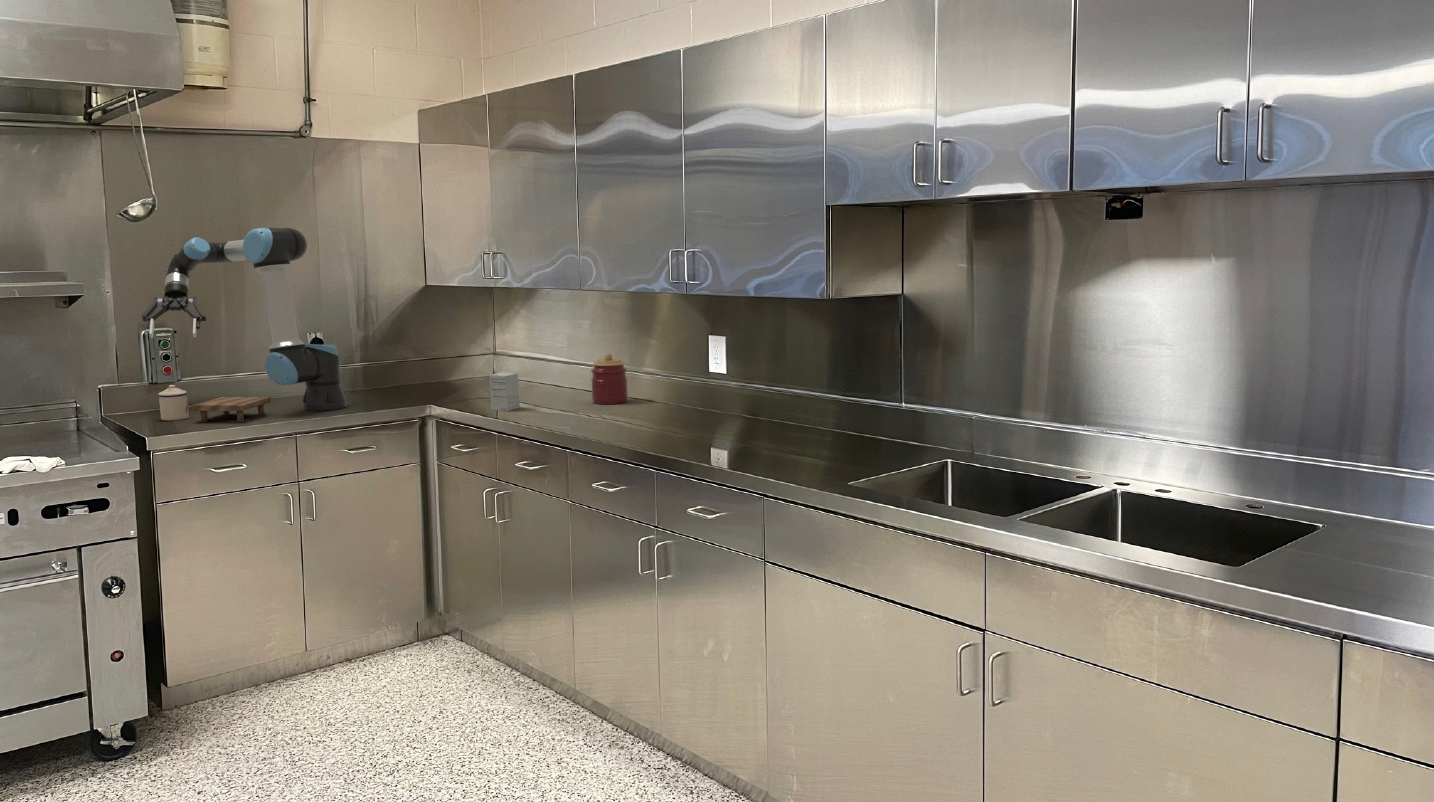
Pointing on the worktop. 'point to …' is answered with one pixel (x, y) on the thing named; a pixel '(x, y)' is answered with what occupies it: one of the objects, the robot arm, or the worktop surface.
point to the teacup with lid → (173, 404)
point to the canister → (609, 381)
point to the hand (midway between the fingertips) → (172, 335)
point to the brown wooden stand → (231, 406)
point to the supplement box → (504, 391)
